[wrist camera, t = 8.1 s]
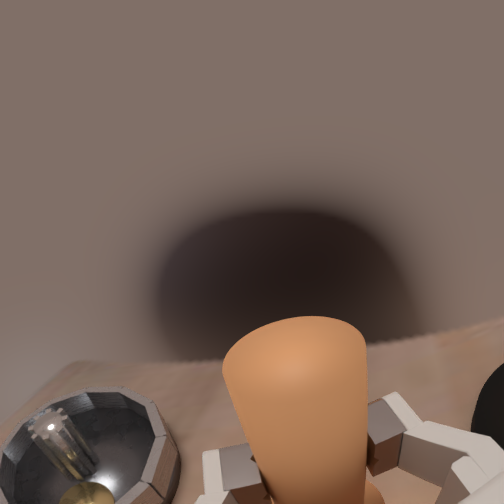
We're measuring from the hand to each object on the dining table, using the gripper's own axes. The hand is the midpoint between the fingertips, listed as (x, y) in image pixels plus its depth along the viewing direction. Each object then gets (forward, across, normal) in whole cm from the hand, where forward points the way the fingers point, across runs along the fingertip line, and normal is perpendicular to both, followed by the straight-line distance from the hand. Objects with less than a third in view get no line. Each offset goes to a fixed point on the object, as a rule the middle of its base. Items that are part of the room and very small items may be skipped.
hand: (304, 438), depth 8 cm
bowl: (+12, +20, +15) cm, 28 cm away
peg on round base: (-1, 0, +6) cm, 6 cm away
